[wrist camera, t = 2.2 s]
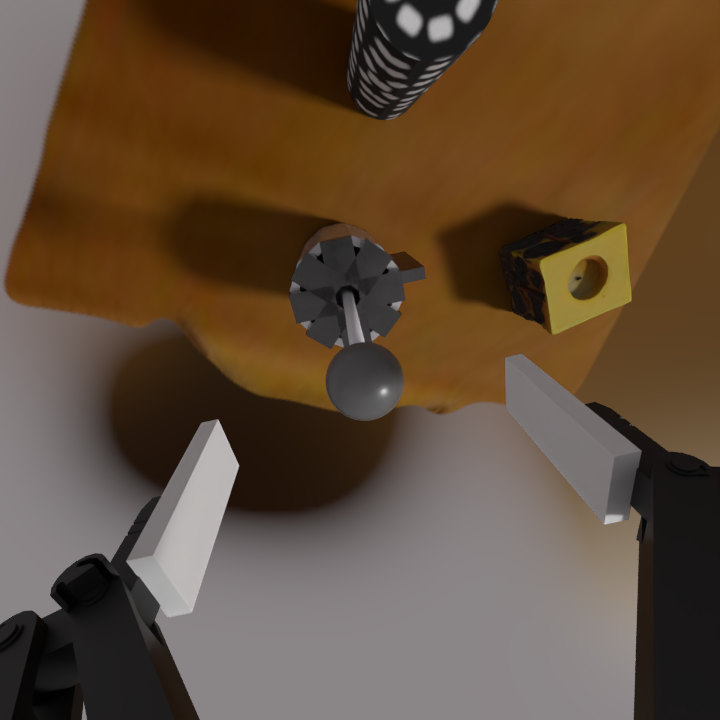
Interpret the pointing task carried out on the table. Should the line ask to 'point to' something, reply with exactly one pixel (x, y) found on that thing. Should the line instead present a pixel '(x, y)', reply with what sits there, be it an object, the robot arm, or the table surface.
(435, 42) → the spotted tube
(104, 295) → the table surface
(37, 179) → the table surface
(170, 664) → the robot arm
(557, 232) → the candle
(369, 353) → the grey ball-topped rod
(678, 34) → the table surface
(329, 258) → the grey cylinder
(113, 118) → the table surface
